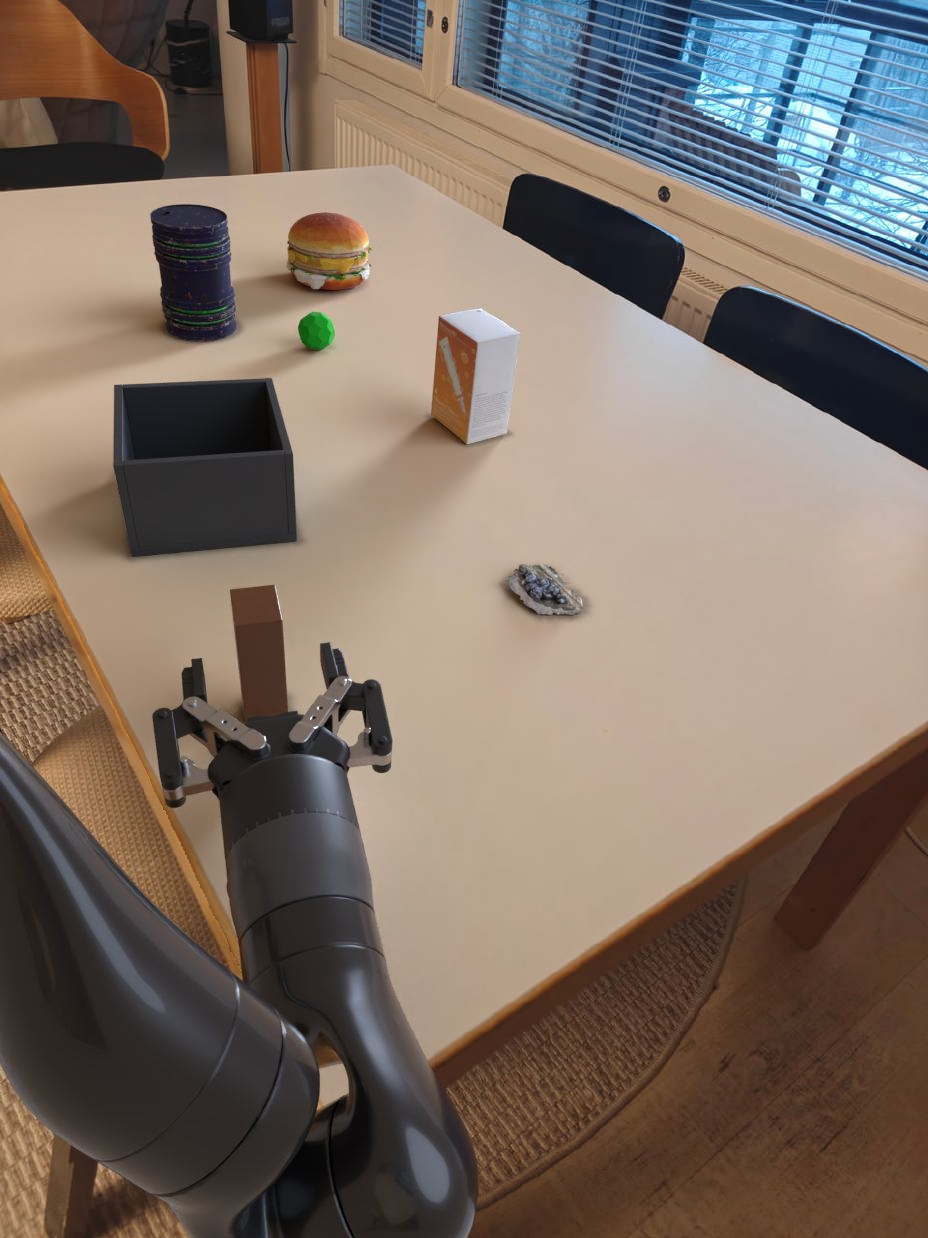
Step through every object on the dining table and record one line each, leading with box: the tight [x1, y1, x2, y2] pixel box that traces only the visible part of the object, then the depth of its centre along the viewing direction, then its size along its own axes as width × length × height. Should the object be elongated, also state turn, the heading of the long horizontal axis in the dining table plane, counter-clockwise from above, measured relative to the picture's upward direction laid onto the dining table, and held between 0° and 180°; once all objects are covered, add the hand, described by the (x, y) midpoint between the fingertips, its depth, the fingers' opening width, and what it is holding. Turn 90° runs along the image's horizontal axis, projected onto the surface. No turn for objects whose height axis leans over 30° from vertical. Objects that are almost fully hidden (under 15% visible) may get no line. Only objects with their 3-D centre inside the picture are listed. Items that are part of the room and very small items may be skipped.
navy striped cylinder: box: [149, 203, 237, 343], centre depth 117 cm, size 10×10×15 cm
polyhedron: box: [297, 311, 336, 351], centre depth 118 cm, size 5×5×5 cm
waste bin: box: [112, 377, 298, 558], centre depth 86 cm, size 16×16×10 cm
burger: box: [286, 211, 373, 291], centre depth 136 cm, size 13×14×10 cm
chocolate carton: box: [229, 584, 289, 723], centre depth 64 cm, size 3×4×12 cm
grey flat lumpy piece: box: [504, 563, 584, 616], centre depth 83 cm, size 7×8×2 cm
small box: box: [430, 307, 521, 445], centre depth 103 cm, size 8×6×13 cm
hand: (262, 659), depth 59 cm, fingers open, 8 cm apart
